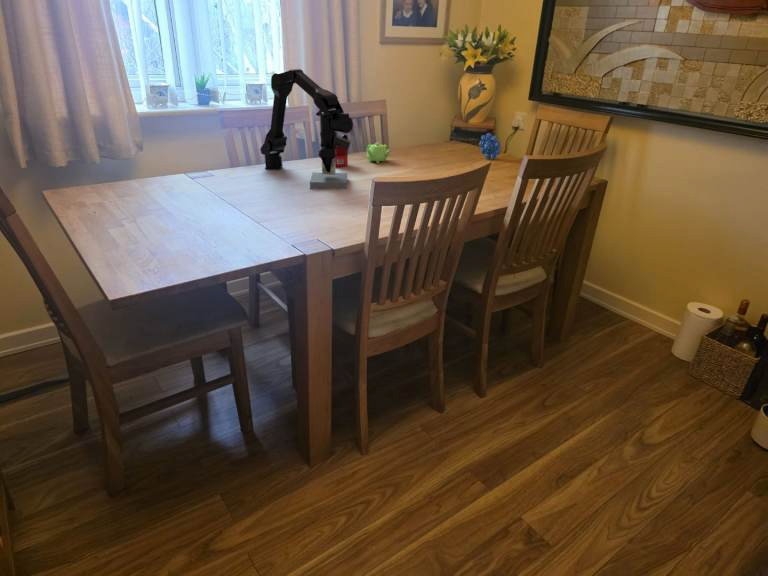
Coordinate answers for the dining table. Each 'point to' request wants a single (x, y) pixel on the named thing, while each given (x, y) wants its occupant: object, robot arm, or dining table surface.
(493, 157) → the grapes
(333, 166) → the sage block
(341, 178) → the base slab
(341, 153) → the canned food
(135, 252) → the dining table surface
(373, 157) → the green rounded lump
